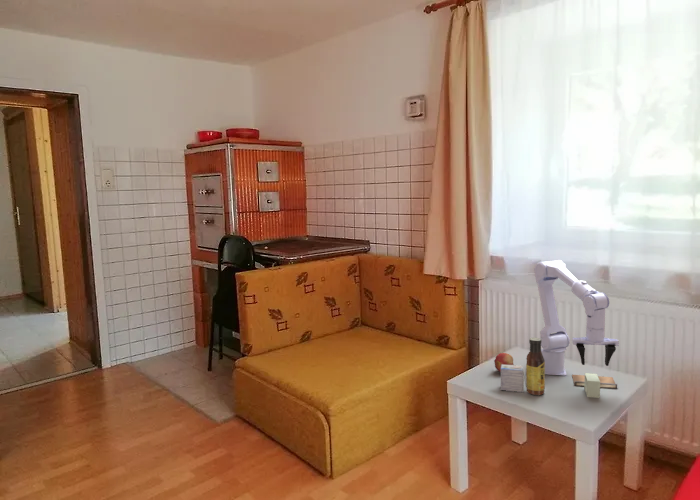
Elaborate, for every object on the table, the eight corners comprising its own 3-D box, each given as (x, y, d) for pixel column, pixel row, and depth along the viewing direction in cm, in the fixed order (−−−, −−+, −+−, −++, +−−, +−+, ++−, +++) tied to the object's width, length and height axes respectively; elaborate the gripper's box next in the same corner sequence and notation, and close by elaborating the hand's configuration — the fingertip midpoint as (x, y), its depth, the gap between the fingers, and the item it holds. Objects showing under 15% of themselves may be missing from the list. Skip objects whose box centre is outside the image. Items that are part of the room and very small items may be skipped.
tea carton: (587, 397, 176) (587, 380, 175) (584, 388, 183) (584, 373, 182) (600, 398, 175) (600, 381, 174) (596, 389, 181) (597, 373, 180)
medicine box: (523, 387, 186) (523, 365, 185) (523, 392, 182) (523, 370, 180) (501, 386, 188) (501, 363, 187) (500, 390, 184) (500, 368, 183)
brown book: (574, 385, 185) (574, 381, 185) (571, 376, 194) (572, 372, 194) (617, 388, 181) (617, 384, 181) (612, 378, 190) (612, 374, 189)
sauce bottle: (544, 397, 178) (545, 342, 175) (526, 395, 180) (526, 341, 177) (544, 389, 184) (544, 336, 181) (526, 387, 186) (526, 335, 183)
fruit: (511, 378, 195) (511, 358, 194) (491, 374, 199) (491, 355, 198) (516, 371, 201) (516, 351, 200) (497, 368, 205) (496, 349, 204)
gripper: (575, 330, 174) (574, 367, 176) (621, 331, 170) (620, 369, 172) (571, 324, 180) (571, 360, 182) (616, 325, 177) (615, 362, 179)
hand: (594, 364), depth 178 cm, fingers open, 7 cm apart
